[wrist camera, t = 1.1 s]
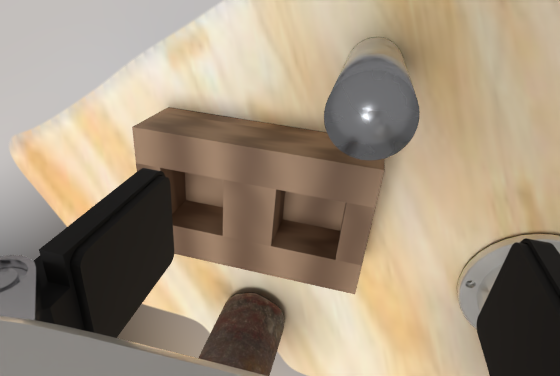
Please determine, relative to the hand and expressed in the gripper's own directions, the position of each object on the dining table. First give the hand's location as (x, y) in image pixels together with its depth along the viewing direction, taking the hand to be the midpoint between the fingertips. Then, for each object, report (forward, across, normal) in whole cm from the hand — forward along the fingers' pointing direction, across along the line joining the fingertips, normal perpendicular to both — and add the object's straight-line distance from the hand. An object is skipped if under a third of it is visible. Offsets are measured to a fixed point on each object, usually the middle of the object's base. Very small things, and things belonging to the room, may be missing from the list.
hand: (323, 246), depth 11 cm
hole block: (+23, +7, +11) cm, 27 cm away
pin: (+24, -1, -1) cm, 24 cm away
